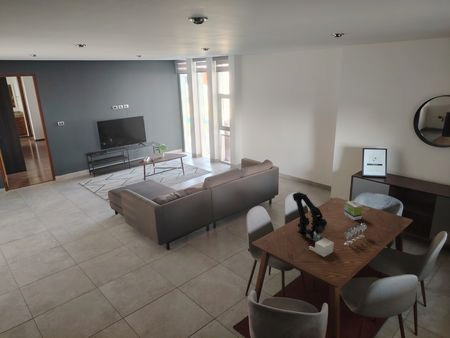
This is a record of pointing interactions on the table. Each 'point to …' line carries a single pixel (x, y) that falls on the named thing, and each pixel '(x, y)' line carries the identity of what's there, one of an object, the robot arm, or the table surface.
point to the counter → (323, 247)
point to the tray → (315, 237)
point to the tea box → (353, 210)
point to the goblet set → (354, 230)
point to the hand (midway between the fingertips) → (314, 237)
